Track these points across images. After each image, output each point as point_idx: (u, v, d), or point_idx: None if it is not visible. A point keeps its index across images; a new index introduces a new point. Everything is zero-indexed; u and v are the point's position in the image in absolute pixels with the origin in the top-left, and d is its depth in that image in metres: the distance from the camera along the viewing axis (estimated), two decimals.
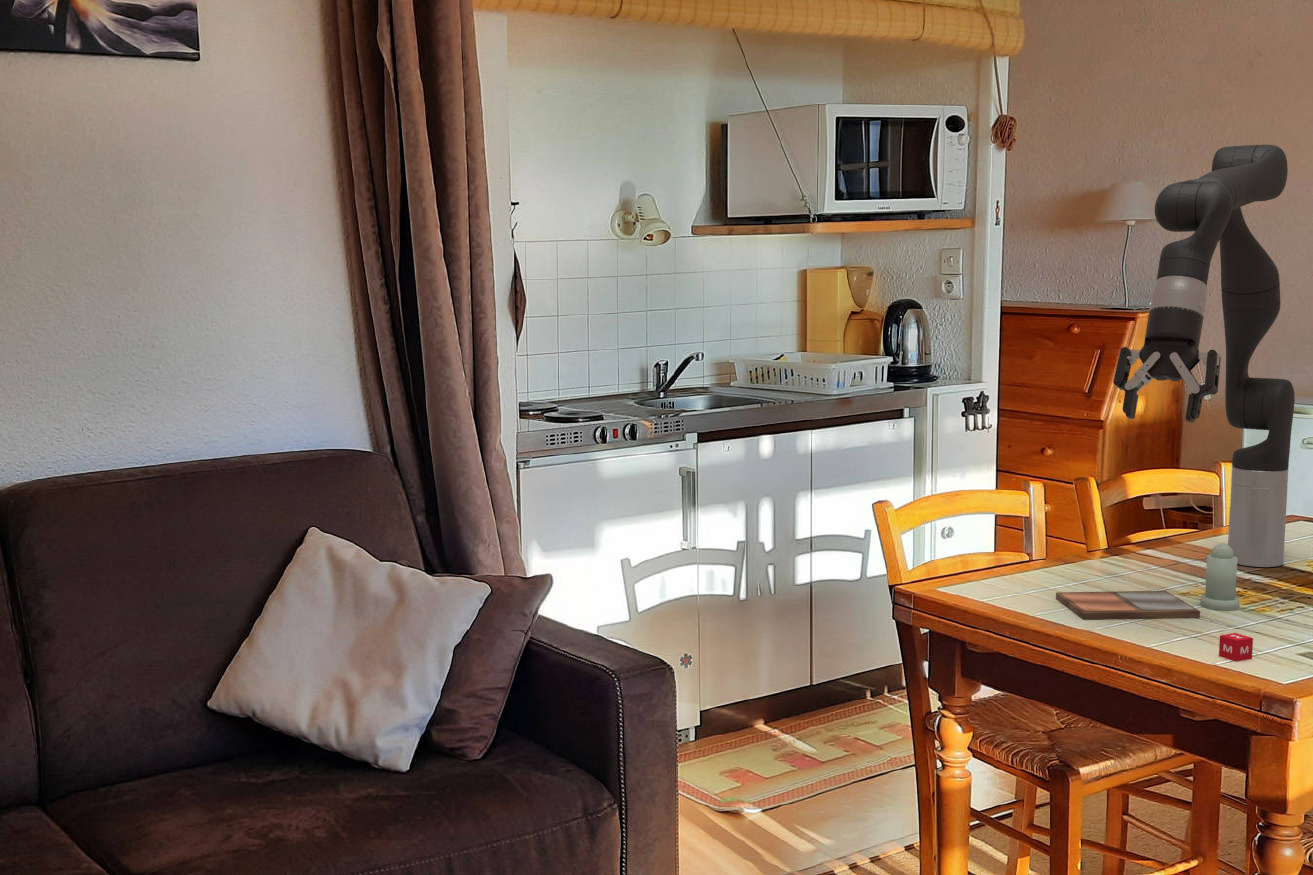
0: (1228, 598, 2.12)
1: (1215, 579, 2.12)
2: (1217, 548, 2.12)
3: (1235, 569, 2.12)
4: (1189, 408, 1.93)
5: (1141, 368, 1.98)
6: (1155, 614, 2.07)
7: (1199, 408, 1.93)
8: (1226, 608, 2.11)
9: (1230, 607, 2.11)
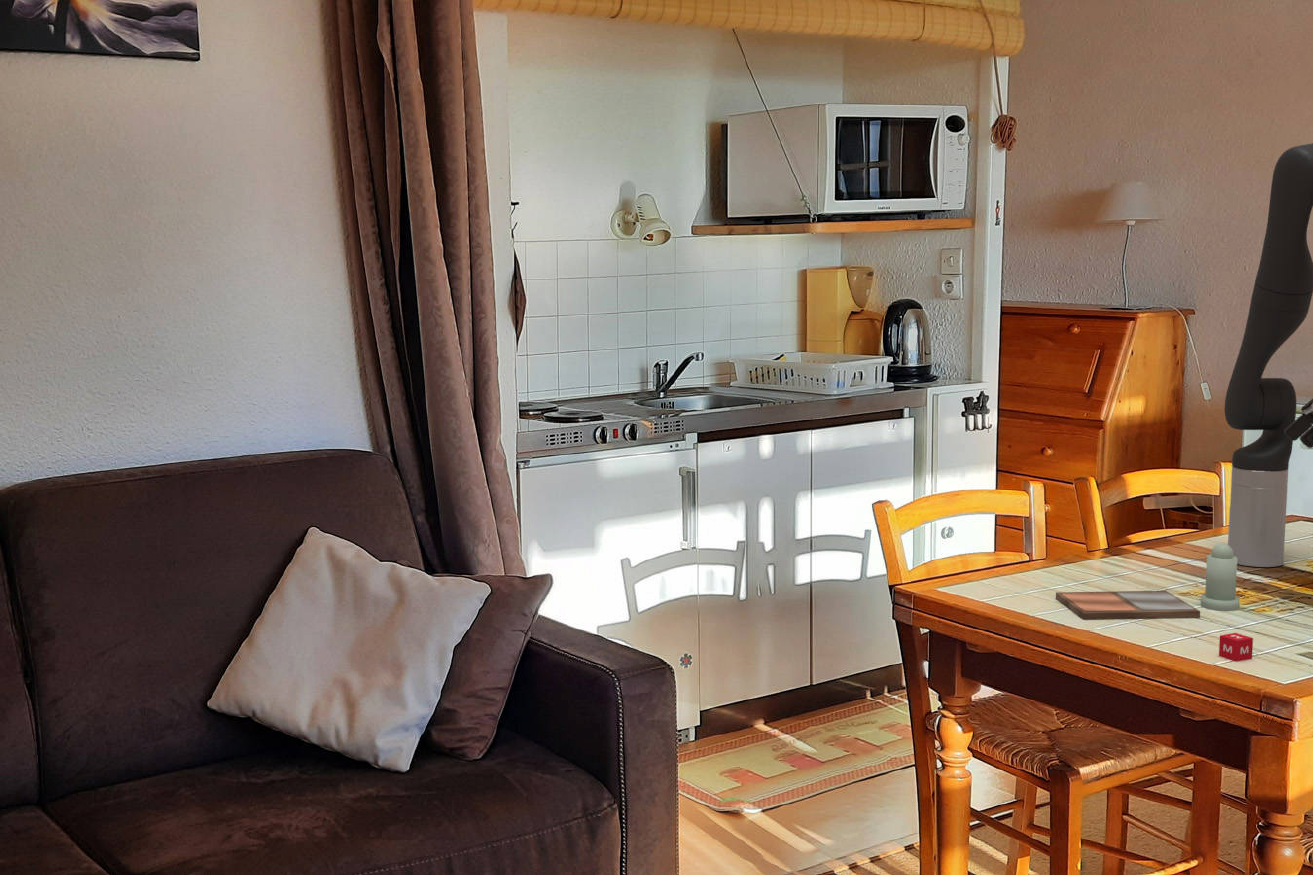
0: (1228, 598, 2.12)
1: (1215, 579, 2.12)
2: (1217, 548, 2.12)
3: (1235, 569, 2.12)
4: None
5: None
6: (1155, 614, 2.07)
7: None
8: (1226, 608, 2.11)
9: (1230, 607, 2.11)
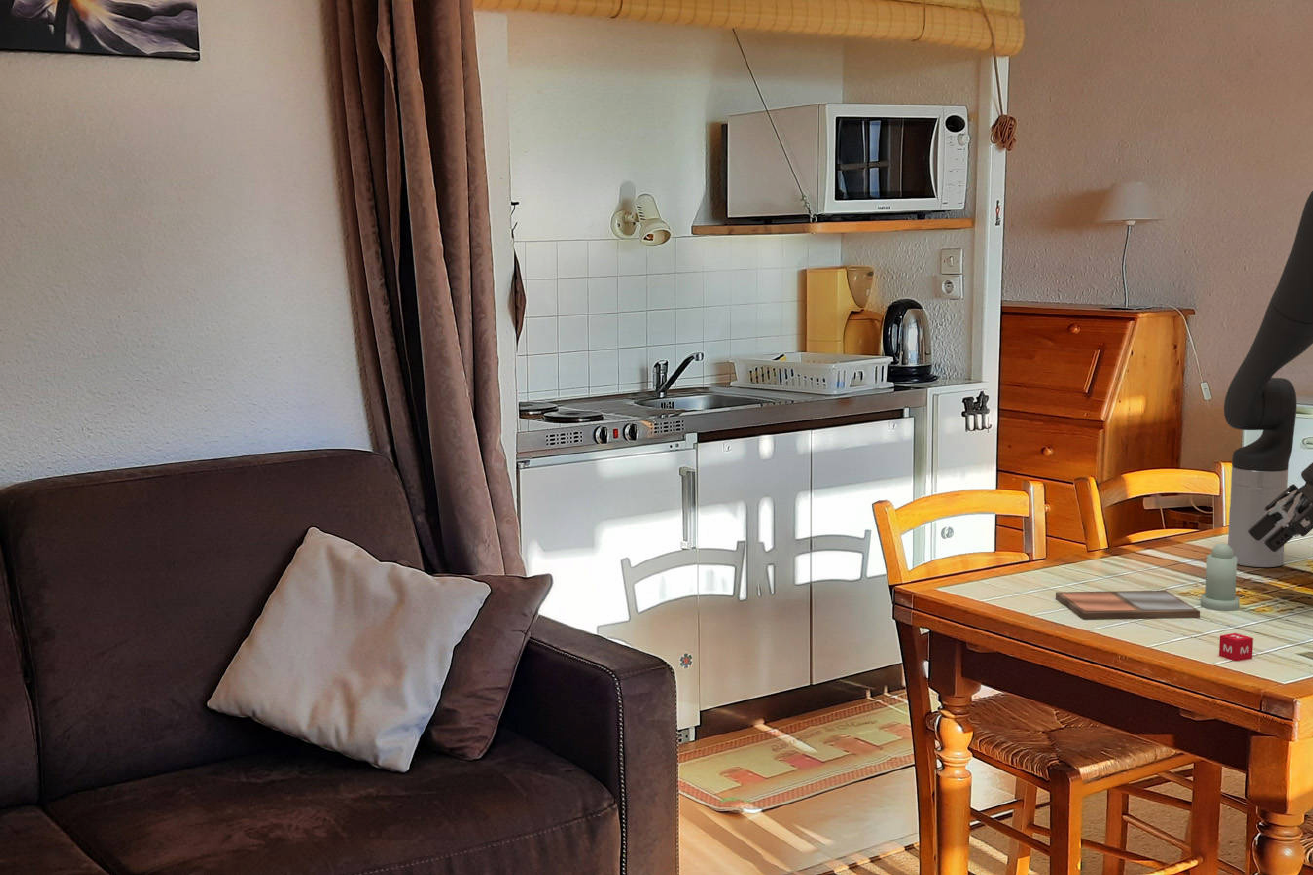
0: (1228, 598, 2.12)
1: (1215, 579, 2.12)
2: (1217, 548, 2.12)
3: (1235, 569, 2.12)
4: None
5: (1310, 522, 2.07)
6: (1155, 614, 2.07)
7: None
8: (1226, 608, 2.11)
9: (1230, 607, 2.11)
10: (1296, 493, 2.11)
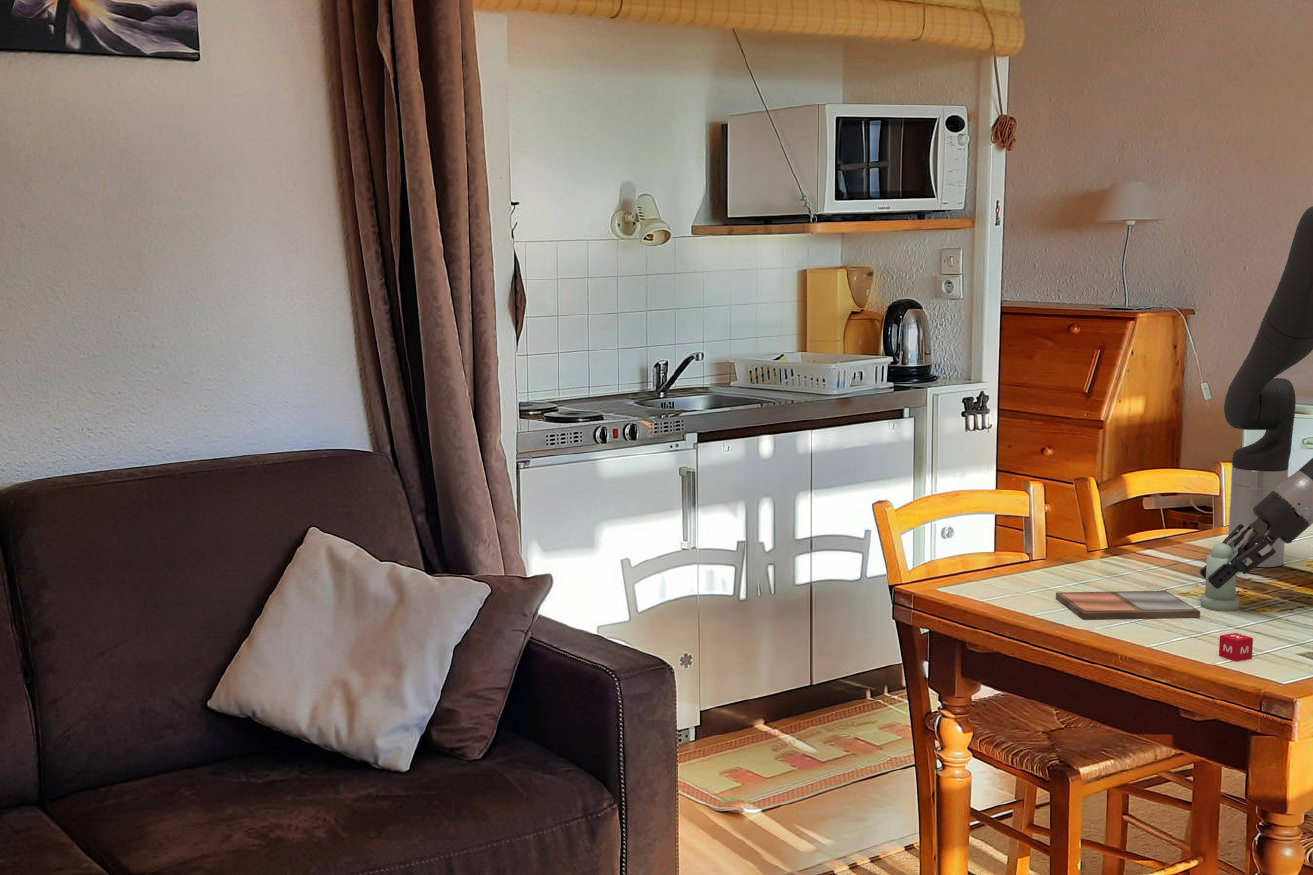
0: (1228, 598, 2.12)
1: None
2: (1217, 548, 2.12)
3: None
4: None
5: None
6: (1155, 614, 2.07)
7: None
8: (1226, 608, 2.11)
9: (1230, 607, 2.11)
10: (1248, 527, 2.12)
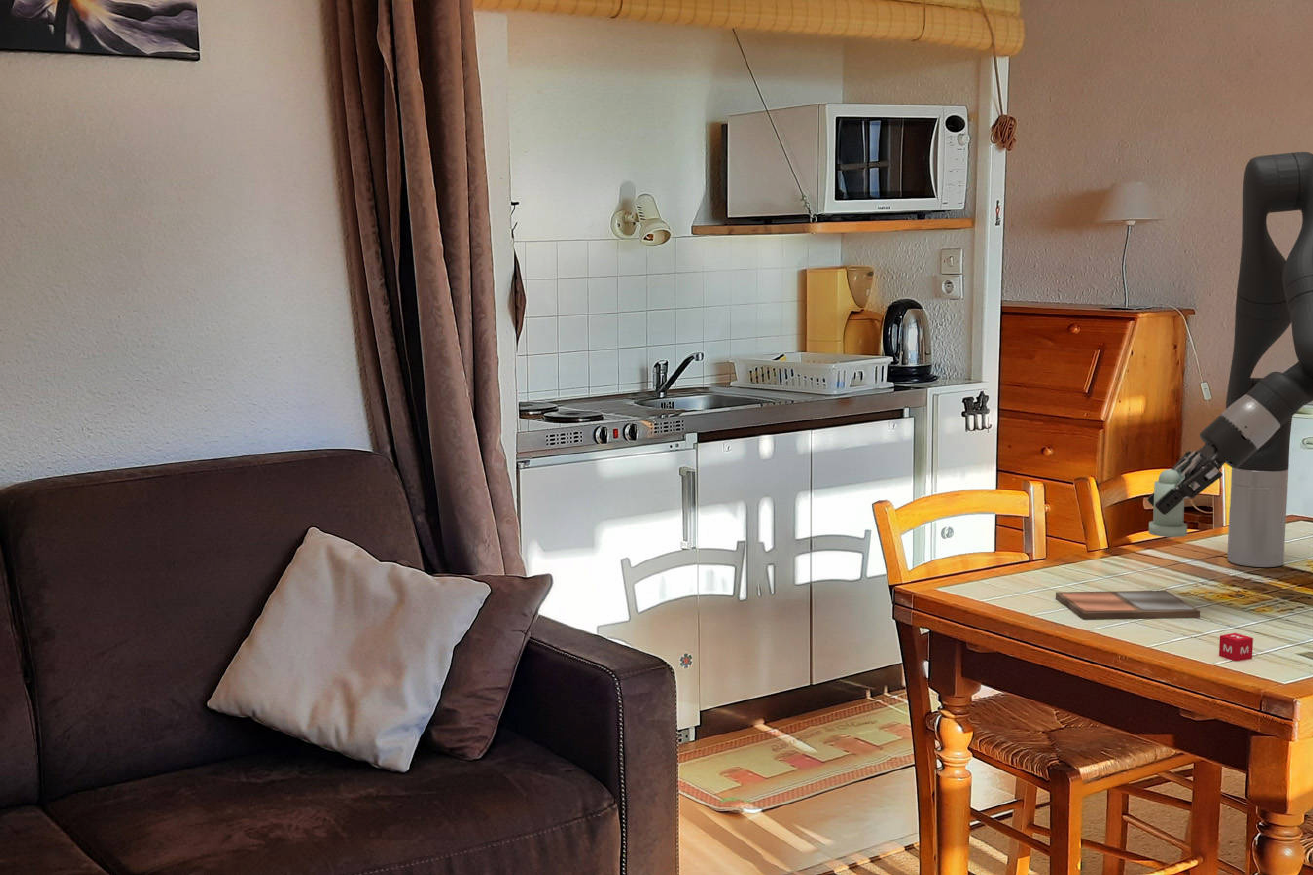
0: (1176, 524, 2.09)
1: None
2: (1164, 474, 2.10)
3: None
4: None
5: None
6: (1155, 614, 2.07)
7: None
8: (1173, 534, 2.09)
9: (1178, 533, 2.09)
10: (1196, 453, 2.10)
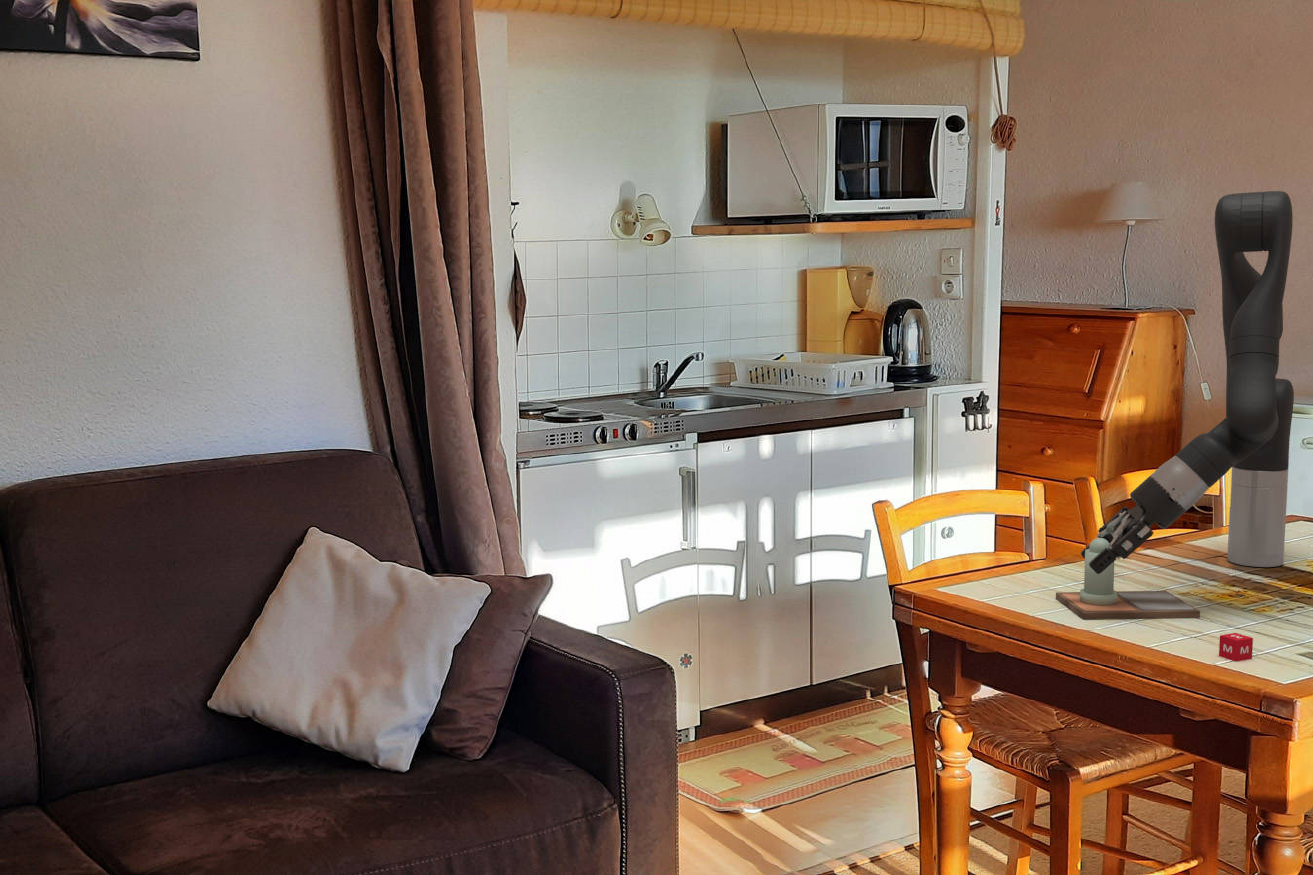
0: (1105, 593, 2.11)
1: (1093, 574, 2.11)
2: (1094, 542, 2.11)
3: (1112, 563, 2.11)
4: None
5: None
6: (1155, 614, 2.07)
7: None
8: (1103, 603, 2.10)
9: (1107, 602, 2.10)
10: (1125, 513, 2.11)
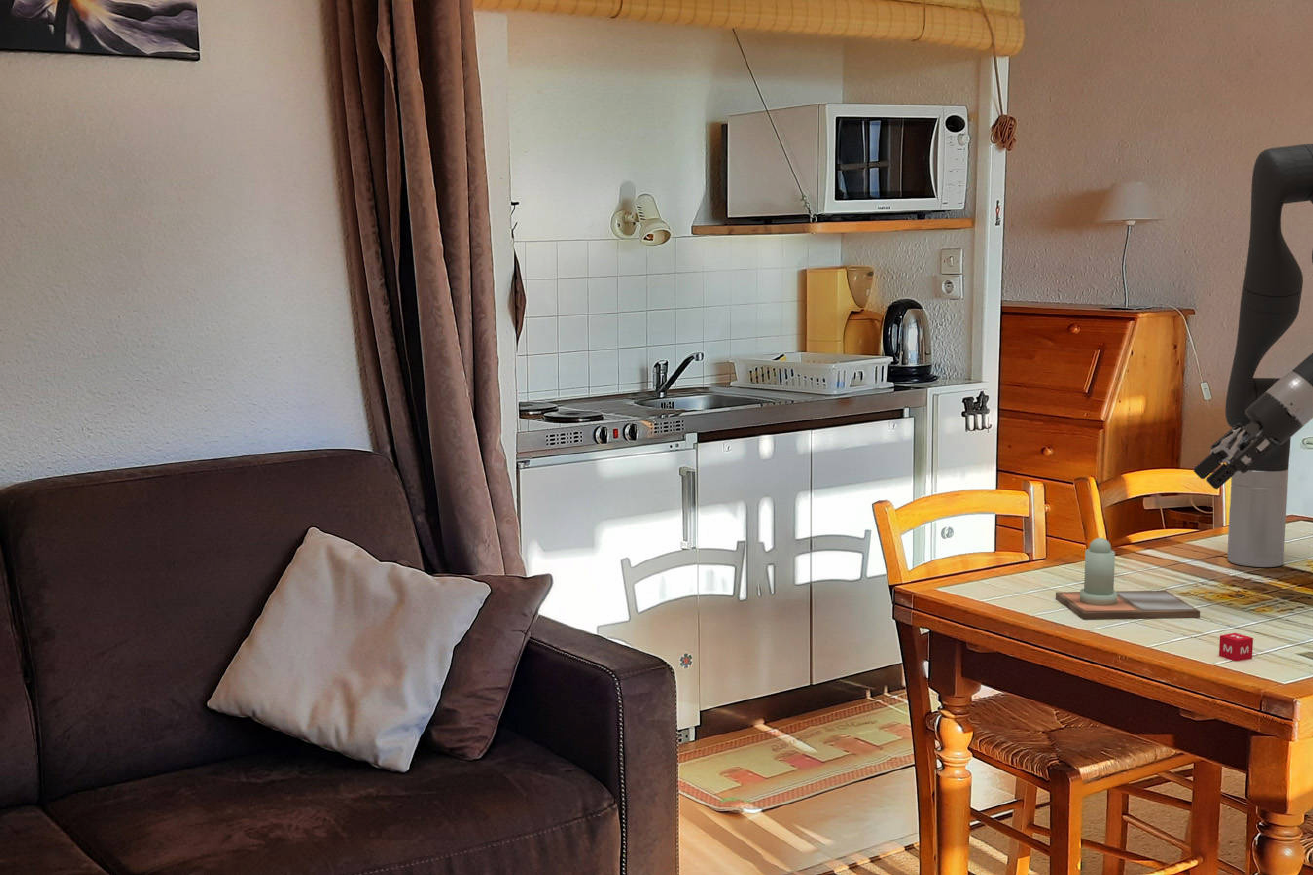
0: (1105, 593, 2.11)
1: (1093, 574, 2.11)
2: (1095, 543, 2.11)
3: (1112, 564, 2.11)
4: None
5: None
6: (1155, 614, 2.07)
7: None
8: (1103, 603, 2.10)
9: (1107, 602, 2.10)
10: (1240, 430, 2.11)
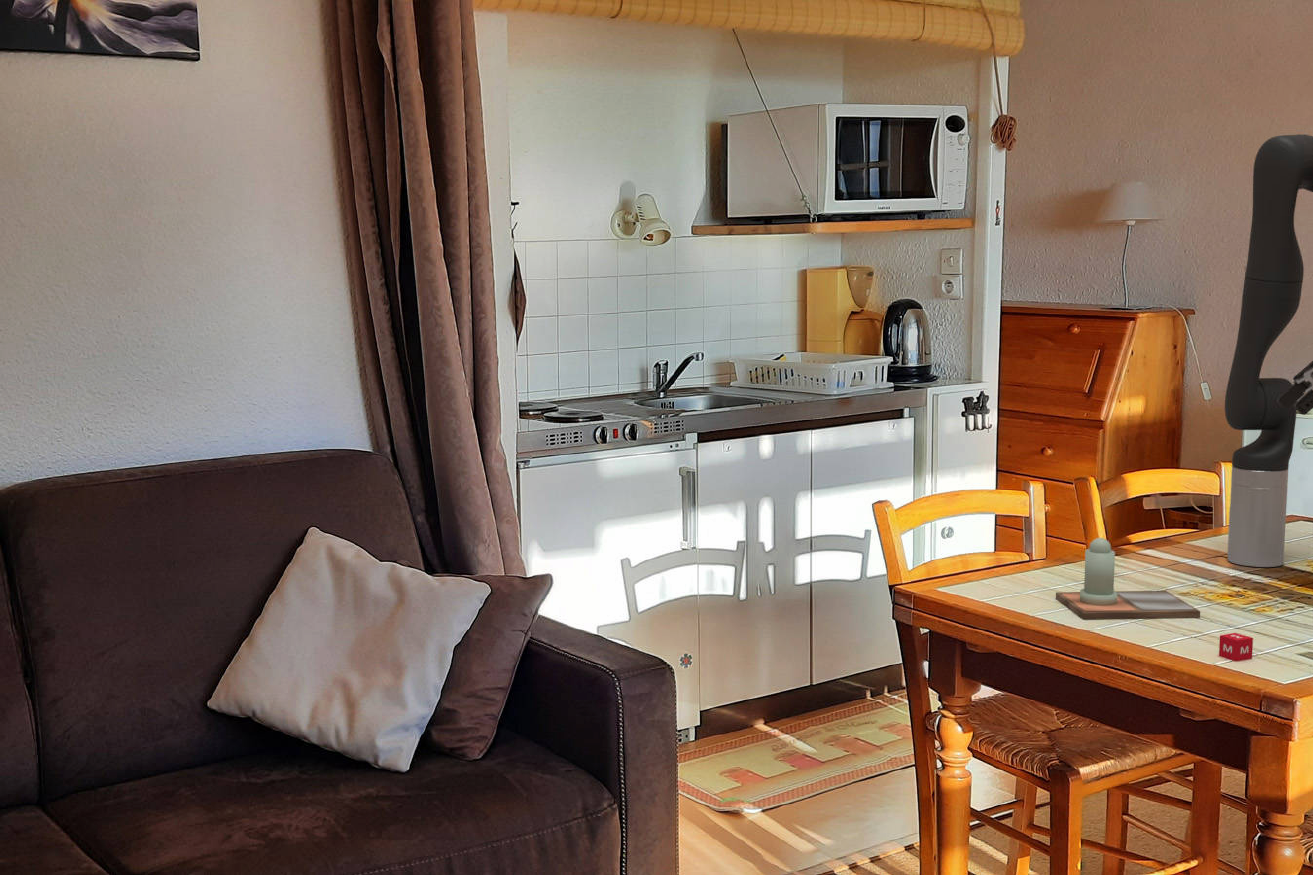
0: (1105, 593, 2.11)
1: (1093, 574, 2.11)
2: (1095, 543, 2.11)
3: (1112, 564, 2.11)
4: None
5: None
6: (1155, 614, 2.07)
7: None
8: (1103, 603, 2.10)
9: (1107, 602, 2.10)
10: None
